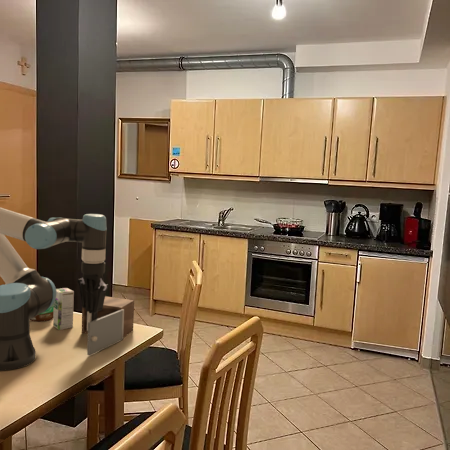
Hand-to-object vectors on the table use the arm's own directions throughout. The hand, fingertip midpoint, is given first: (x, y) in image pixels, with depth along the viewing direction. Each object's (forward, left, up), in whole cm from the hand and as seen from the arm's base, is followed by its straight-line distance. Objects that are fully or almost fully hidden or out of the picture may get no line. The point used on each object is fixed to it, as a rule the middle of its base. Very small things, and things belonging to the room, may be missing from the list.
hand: (91, 330), depth 152 cm
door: (+4, +4, -7) cm, 9 cm away
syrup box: (-22, +16, -8) cm, 28 cm away
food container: (-33, +20, -8) cm, 39 cm away
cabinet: (-4, +18, -7) cm, 20 cm away
